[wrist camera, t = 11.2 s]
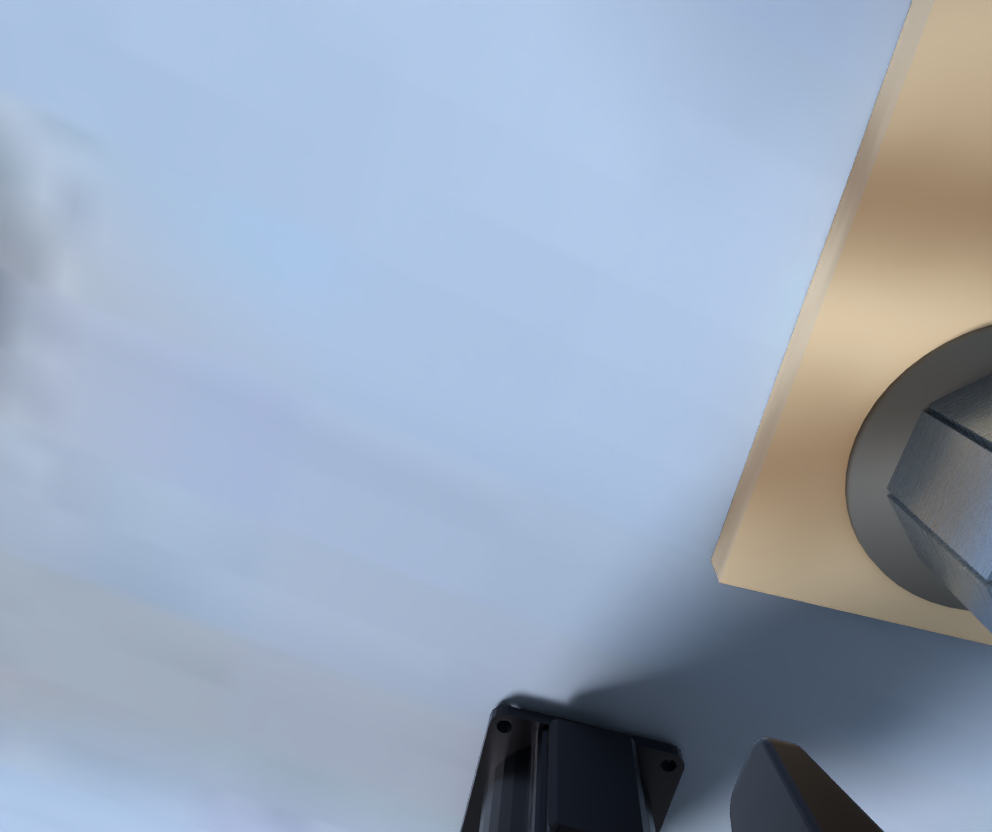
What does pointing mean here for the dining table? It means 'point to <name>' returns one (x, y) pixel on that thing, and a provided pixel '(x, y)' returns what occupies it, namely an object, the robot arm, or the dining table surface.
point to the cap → (951, 494)
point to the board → (880, 342)
